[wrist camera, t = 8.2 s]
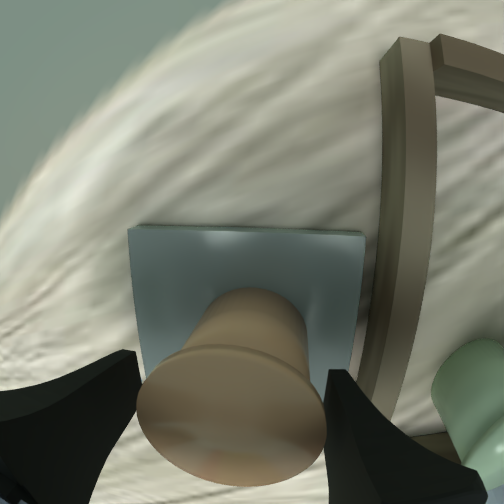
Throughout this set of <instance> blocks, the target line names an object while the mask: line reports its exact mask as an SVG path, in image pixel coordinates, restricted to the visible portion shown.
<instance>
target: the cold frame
mask: <svg viewBox="0 0 504 504" xmlns="http://www.w3.org/2000/svg"><path fill="white" fill-rule="evenodd" d="M380 76H381V94H382V138H383V143H382V188H381V207H380V222H379V235H378V246H377V257H376V266H375V275H374V283H373V291H372V298H371V305H370V312H369V318H368V325H367V331H366V337H365V342H364V348H363V353H362V358H361V364H360V369H359V373H358V378H357V385H358V386H359V387H360V389H361V390H362V391H363V392H364V394H365V395H366V396H367V397H368V399H369V400H370V401H371V402H372V403H373V404H374V406H375V407H376V408H377V409H378V410H379V411H380V412H381V413H382V414H383V415H384V416H385V417H386V418H387V419H388V420H389V421H391V418H392V415H393V412H394V409H395V406H396V403H397V400H398V397H399V393H400V390H401V387H402V383H403V380H404V377H405V373H406V369H407V366H408V362H409V358H410V354H411V351H412V346H413V342H414V338H415V334H416V329H417V325H418V320H419V316H420V311H421V306H422V300H423V295H424V289H425V283H426V277H427V271H428V264H429V257H430V249H431V241H432V231H433V221H434V209H435V194H436V171H437V124H436V102H435V95H436V96H441V97H446V98H450V99H454V100H459V101H463V102H467V103H471V104H475V105H478V106H482V107H486V108H489V109H493V110H496V111H499V112H503V113H504V55H503V54H501V53H498V52H496V51H493V50H490V49H488V48H485V47H482V46H479V45H476V44H473V43H470V42H467V41H464V40H461V39H457V38H454V37H450V36H447V35H443V34H439V35H438V36H437V37H436V38H435V39H433V40H432V41H431V42H430V43H427V42H423V41H418V40H414V39H409V38H404V37H399V38H398V39H397V40H396V42H395V43H394V44H393V45H392V47H391V48H390V49H389V50H388V52H387V53H386V54H385V55H384V57H383V58H382V59H381V60H380ZM410 438H411V439H413V440H414V441H416V442H417V443H419V444H420V445H422V446H423V447H425V448H427V449H428V450H430V451H432V452H434V453H436V454H438V455H440V456H442V457H444V458H446V459H448V460H450V461H452V462H455V463H457V464H460V465H461V463H462V462H461V460H460V458H459V455H458V453H457V451H456V449H455V447H454V445H453V442H452V440H451V438H450V436H449V434H448V432H444V433H438V434H431V435H424V436H417V437H410Z"/></svg>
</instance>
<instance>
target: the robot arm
mask: <svg viewBox="0 0 504 504" xmlns="http://www.w3.org/2000/svg"><path fill="white" fill-rule="evenodd" d="M141 386H142V382H141V377H140V372H139V367H138V361H137V356H136V352H135V351H130V350H124V349H122V350H119V351H116V352H114V353H112V354H110V355H108V356H105V357H103V358H101V359H99V360H97V361H95V362H93V363H91V364H89V365H87V366H85V367H83V368H81V369H78V370H76V371H74V372H71V373H69V374H66V375H64V376H62V377H59V378H57V379H54V380H51V381H48V382H45V383H41V384H38V385H34V386H29V387H25V388H20V389H15V390H7V391H0V504H89V501H90V498H91V495H92V492H93V490H94V487H95V485H96V482H97V480H98V477H99V475H100V473H101V470H102V468H103V466H104V464H105V461H106V459H107V457H108V456H109V454H110V452H111V450H112V449H113V447H114V446H115V444H116V442H117V441H118V439H119V438H120V436H121V435H122V433H123V431H124V430H125V428H126V427H127V425H128V423H129V422H130V420H131V419H132V417H133V415H134V414H135V412H136V403H137V397H138V393H139V390H140V388H141ZM323 404H324V409H325V414H326V426H327V436H326V441H325V445H324V454H325V461H326V469H327V476H328V486H329V504H504V484H503V485H501V486H499V487H497V488H494V489H492V490H489V491H486V488H485V486H484V483H483V481H482V479H481V477H480V475H479V473H478V472H477V470H474V469H471V468H468V467H466V466H463V465H460V464H457V463H455V462H452V461H450V460H448V459H446V458H444V457H442V456H440V455H438V454H436V453H434V452H432V451H430V450H428V449H427V448H425V447H423V446H422V445H420V444H419V443H417V442H416V441H414V440H413V439H411V438H410V437H409V436H407V435H406V434H405V433H403V432H402V431H401V430H400V429H398V428H397V427H396V426H395V425H393V424H392V423H391V422H390V421H389V420H388V419H387V418H386V417H385V416H384V415H383V414H382V413H381V412H380V411H379V410H378V409H377V408H376V407H375V406H374V404H373V403H372V402H371V401H370V400H369V399H368V397H367V396H366V395H365V394H364V392H363V391H362V390H361V389H360V387H359V386H358V385H357V383H356V382H355V381H354V379H353V378H352V377H351V375H350V374H349V373H348V371H347V370H346V369H329V370H328V377H327V383H326V389H325V395H324V401H323Z"/></svg>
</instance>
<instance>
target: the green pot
mask: <svg viewBox="0 0 504 504" xmlns="http://www.w3.org/2000/svg"><path fill="white" fill-rule="evenodd" d="M431 397H432V401H433V403H434V405H435V407H436V409H437V411H438V413H439V415H440V417H441V419H442V421H443V423H444V425H445V428H446V430H447V432H448V434H449V436H450V438H451V440H452V442H453V445H454V447H455V449H456V451H457V453H458V455H459V458H460V460H461V462H462V463H461V465H463V466H466V467H468V468H471V469H474V470H477V472H478V473H479V475H480V477H481V479H482V481H483V483H484V486H485V488H486V491H489V490H492V489H494V488H497V487H499V486H501V485H503V484H504V348H503V347H502V346H501V345H500V344H499V343H498V342H496V341H495V340H492V339H487V338H485V339H478V340H474V341H472V342H469V343H467V344H466V345H464V346H462V347H461V348H459V349H458V350H457V351H455V352H454V353H453V354H452V355H451V356H450V357H449V358H448V359H447V360H446V361H445V362H444V364H443V365H442V366H441V368H440V369H439V371H438V372H437V374H436V376H435V378H434V381H433V384H432V389H431Z"/></svg>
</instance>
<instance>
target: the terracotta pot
mask: <svg viewBox="0 0 504 504" xmlns="http://www.w3.org/2000/svg"><path fill="white" fill-rule="evenodd" d="M136 410H137V417H138V421H139V424H140V426H141V429H142V431H143V433H144V434H145V436H146V438H147V439H148V441H149V442H150V443H151V445H152V446H153V447H154V448H155V449H156V450H157V451H158V452H159V453H160V454H161V455H162V456H163V457H164V458H166V459H167V460H168V461H169V462H171V463H172V464H174V465H175V466H177V467H178V468H180V469H182V470H184V471H185V472H187V473H189V474H192V475H194V476H196V477H199V478H201V479H204V480H207V481H211V482H214V483H219V484H224V485H231V486H244V487H251V486H263V485H270V484H274V483H278V482H281V481H284V480H287V479H290V478H292V477H294V476H296V475H298V474H299V473H301V472H303V471H304V470H306V469H307V468H308V467H309V466H310V465H312V464H313V462H314V461H315V460H316V459H317V458H318V456H319V455H320V453H321V452H322V450H323V447H324V445H325V441H326V436H327V426H326V414H325V409H324V404H323V402H322V399H321V397H320V395H319V393H318V392H317V390H316V388H315V387H314V386H313V384H312V383H311V382H310V368H309V351H308V336H307V328H306V324H305V322H304V319H303V317H302V316H301V314H300V312H299V311H298V310H297V308H296V307H295V306H294V305H293V304H292V303H291V302H290V301H288V300H287V299H286V298H284V297H283V296H281V295H279V294H277V293H275V292H272V291H269V290H266V289H261V288H251V287H247V288H239V289H234V290H231V291H229V292H226V293H224V294H222V295H220V296H219V297H218V298H216V299H215V300H214V301H213V302H212V303H211V304H210V305H209V306H208V307H207V309H206V310H205V312H204V314H203V315H202V317H201V318H200V320H199V322H198V323H197V325H196V326H195V328H194V330H193V331H192V333H191V334H190V336H189V338H188V339H187V341H186V342H185V344H184V346H183V347H182V349H181V350H180V351H177V352H175V353H173V354H171V355H169V356H168V357H166V358H165V359H163V360H162V361H161V362H160V363H158V364H157V365H156V366H155V368H154V369H153V370H152V371H151V373H150V374H149V376H148V377H147V379H146V380H145V381H144V383H143V384H142V386H141V388H140V390H139V393H138V397H137V403H136Z"/></svg>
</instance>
